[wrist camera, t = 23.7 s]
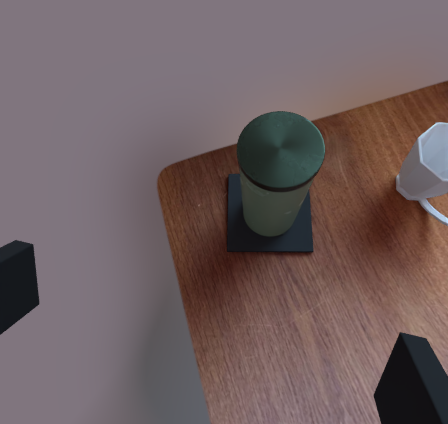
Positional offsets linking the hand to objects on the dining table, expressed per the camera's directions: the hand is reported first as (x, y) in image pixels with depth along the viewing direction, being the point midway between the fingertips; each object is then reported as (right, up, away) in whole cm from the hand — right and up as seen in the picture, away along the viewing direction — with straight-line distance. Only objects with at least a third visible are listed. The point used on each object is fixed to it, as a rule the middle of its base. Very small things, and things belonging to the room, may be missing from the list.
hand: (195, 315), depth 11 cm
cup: (+25, +6, +26) cm, 36 cm away
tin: (+7, +4, +26) cm, 28 cm away
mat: (+7, +4, +27) cm, 28 cm away
